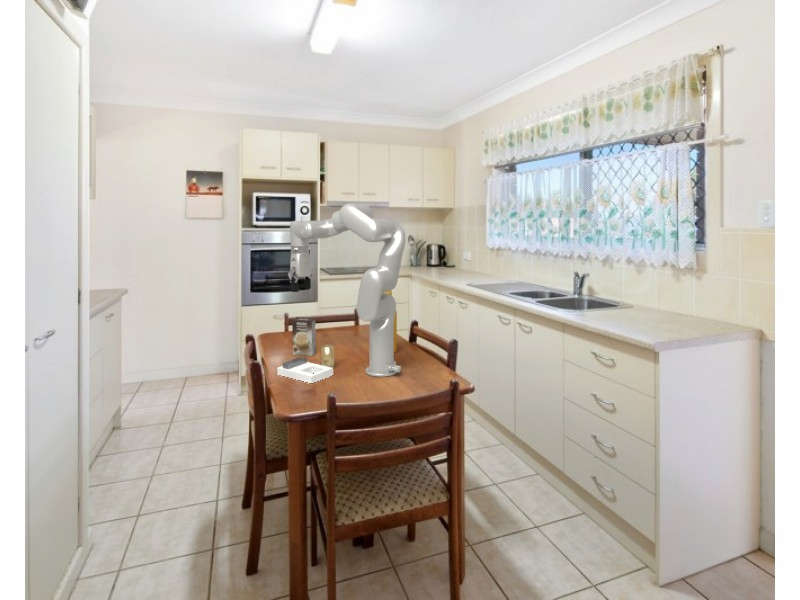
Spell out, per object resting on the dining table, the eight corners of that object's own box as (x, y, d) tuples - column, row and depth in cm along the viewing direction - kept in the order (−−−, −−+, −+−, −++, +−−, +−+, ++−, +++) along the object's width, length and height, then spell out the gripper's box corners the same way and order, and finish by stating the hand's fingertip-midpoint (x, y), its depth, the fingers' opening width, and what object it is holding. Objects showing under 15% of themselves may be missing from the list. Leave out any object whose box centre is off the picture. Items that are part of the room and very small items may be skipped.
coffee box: (292, 355, 212) (291, 320, 210) (296, 351, 219) (295, 316, 216) (312, 356, 212) (311, 320, 209) (316, 352, 218) (315, 317, 215)
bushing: (336, 367, 197) (336, 346, 195) (328, 370, 192) (328, 348, 191) (327, 365, 199) (327, 344, 198) (319, 368, 195) (318, 346, 194)
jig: (333, 375, 187) (333, 363, 186) (311, 384, 177) (311, 371, 176) (299, 367, 196) (299, 355, 195) (277, 375, 186) (276, 362, 186)
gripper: (296, 252, 195) (297, 293, 198) (318, 249, 211) (319, 287, 214) (280, 251, 198) (282, 292, 201) (303, 248, 214) (304, 286, 217)
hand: (301, 290), depth 208 cm, fingers open, 9 cm apart
